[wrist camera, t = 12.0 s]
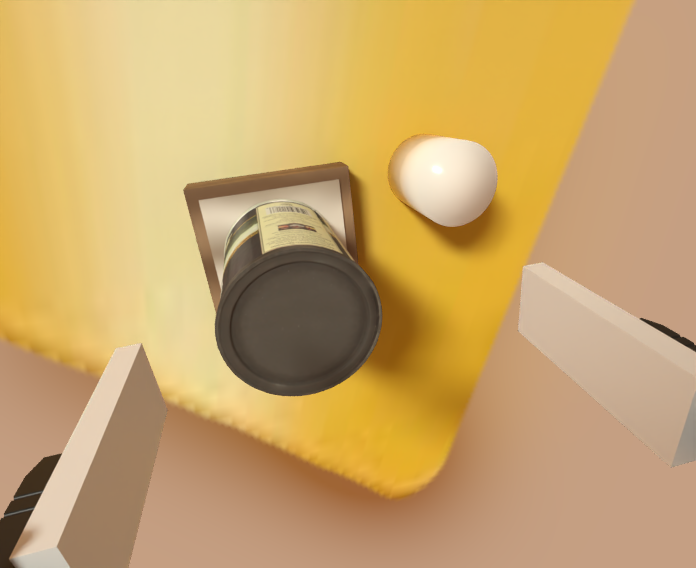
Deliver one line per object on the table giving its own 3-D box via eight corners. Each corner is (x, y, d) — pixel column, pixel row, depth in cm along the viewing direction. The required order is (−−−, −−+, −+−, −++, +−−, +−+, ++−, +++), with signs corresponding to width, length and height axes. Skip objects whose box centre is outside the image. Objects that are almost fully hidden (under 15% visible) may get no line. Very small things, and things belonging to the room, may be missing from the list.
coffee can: (254, 322, 40) (259, 421, 28) (202, 225, 36) (181, 291, 23) (353, 280, 41) (402, 358, 28) (314, 179, 37) (352, 220, 24)
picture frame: (187, 183, 37) (182, 190, 35) (341, 162, 40) (348, 166, 37) (223, 321, 43) (222, 336, 40) (355, 295, 45) (363, 308, 43)
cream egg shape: (385, 138, 40) (416, 146, 33) (454, 129, 41) (499, 134, 34) (390, 211, 43) (419, 232, 36) (454, 200, 44) (495, 219, 37)
